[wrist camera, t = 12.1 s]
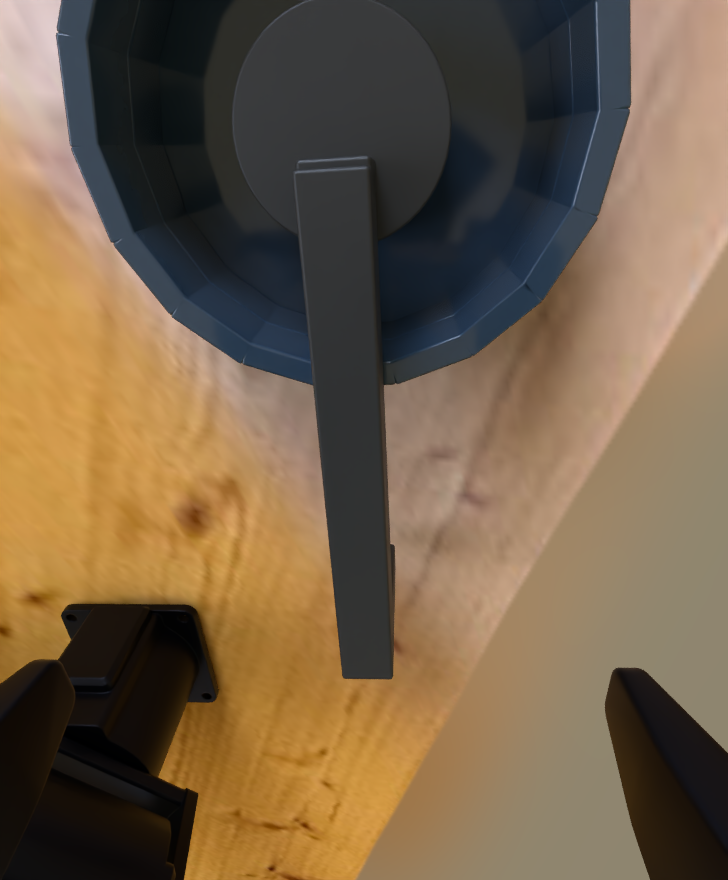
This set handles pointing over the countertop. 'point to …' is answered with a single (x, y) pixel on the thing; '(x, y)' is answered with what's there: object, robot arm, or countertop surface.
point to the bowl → (400, 255)
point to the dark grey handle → (346, 251)
